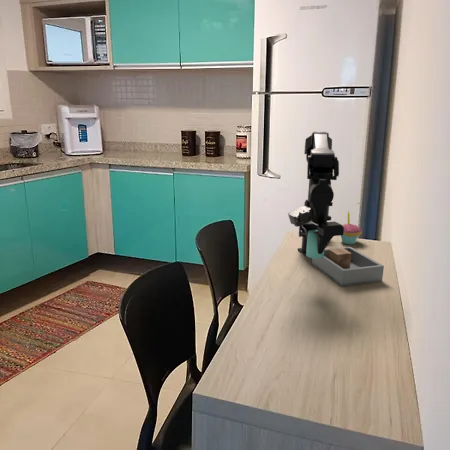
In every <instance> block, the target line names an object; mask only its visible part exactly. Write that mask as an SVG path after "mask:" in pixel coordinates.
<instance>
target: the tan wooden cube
mask: <svg viewBox="0 0 450 450" xmlns="http://www.w3.org/2000/svg"><path fill="white" fill-rule="evenodd" d="M338 248H339V249H332V248H328V249H329V258H328V259H330V260H331V261H333V262H334V263H336V264H337V265H339V266H340V267H342V268H343V269H344V268H350V261H351V253H350V252H349V251H347V250H345V249H343V248H342V247H338Z"/></svg>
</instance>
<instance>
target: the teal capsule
mask: <svg viewBox="0 0 450 450" xmlns="http://www.w3.org/2000/svg"><path fill="white" fill-rule="evenodd" d="M315 231H318V230H309V231H308V237H307V249H306V255H305V256H306V257H308V258H309V259H312V258H313V259H320V258H323V257H324V251H323V253H322V254H318V246H317V236H316V235H315V234H314V232H315Z"/></svg>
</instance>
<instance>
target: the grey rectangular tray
mask: <svg viewBox="0 0 450 450" xmlns="http://www.w3.org/2000/svg"><path fill="white" fill-rule="evenodd" d="M339 248H340V247H335V248H331V249H339ZM341 248H343V249H345V250H347V251H349V252H350V253H351V261H350V268H344V269H343V268H342V267H340V266H339V265H337V264H336V263H334V262H333V261H331V260H330V259H328V258H329V249H330V248H325V250H324V257H323V258H320V259H313V258H311V259H312V260H311V265H312V266H313V267H314V268H316V270H318V271H320V272H321V273H322V274H324V275H325V276H326V277H328V278H329V279H330V280H332V281H333V282H334V283H336V284H338V286H340V287H342V288H343V287H350V286H356V285H357V286H358V285H365V284H372V283H378V282H380V283H381V282H383V276H384V268H385V266H384V265H383V264H381V263H380V262H377V260H374V259H373V258H371V257H369V256H367V255H366V254H364V253H362V252H360V251H359V250H357V249H355V248H353V247H351V246H344V247H341Z"/></svg>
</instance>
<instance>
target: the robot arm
mask: <svg viewBox="0 0 450 450" xmlns="http://www.w3.org/2000/svg"><path fill="white" fill-rule="evenodd" d="M304 155H305V158H306V162H307V165H306V166H307V167H306V168H307V169H306V171H307V173H306V174H307V175H306V176H307V180H309V181H308V192H307V199H305V201H304V204H303V206H300V207H297V208H294V209H293V210H290V211H288V213H287V215H288V219H289V222H290V224H291V225H294V226H295V227H298V237H299V238H301V237H302V238H301V248H299V247H298V248H297V251H298V252H300V253H301V254H302V255H304V256H306V249H307V237H308V231H309V230H318V231H315V232H314V234H315V235H316V236H317V246H318V254H322V253H323V251H324V250H325V249H327V246H329V245H328V244H329V243H330V242H331V240H332V239H333V238H334V237H338V236H340V237H341V235H344V227H343V226H342V225H343V224H341V223H339V222H337V221H332V216H330V214H329V213H330V207H333V202H332V201H333V200H334V198H335V197H334V195H335V192H334V190H333V188H332V181H337V178H338V177H339V175H340V162H339V160H338V156H336V154H335V151H334V150H333V139H332V138H331V137H330V135H329V132H328V131H312V132H311V135H310V136H308V137H306V138H305V142H304Z"/></svg>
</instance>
